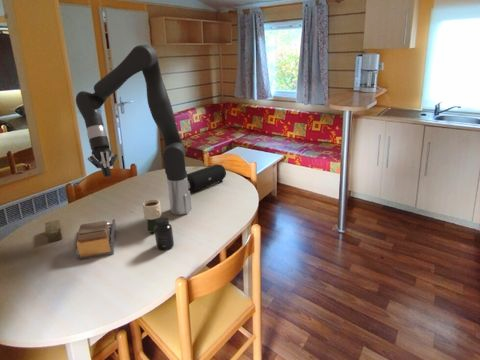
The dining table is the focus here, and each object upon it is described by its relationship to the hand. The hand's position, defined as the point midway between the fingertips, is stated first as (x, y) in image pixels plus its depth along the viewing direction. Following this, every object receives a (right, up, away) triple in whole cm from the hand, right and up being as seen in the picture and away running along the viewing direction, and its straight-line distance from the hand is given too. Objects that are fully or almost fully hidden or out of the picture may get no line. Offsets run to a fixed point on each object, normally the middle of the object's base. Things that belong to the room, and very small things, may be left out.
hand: (107, 176), depth 146 cm
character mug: (+19, -23, +4) cm, 30 cm away
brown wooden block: (-1, -26, -10) cm, 28 cm away
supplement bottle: (+26, -28, -8) cm, 39 cm away
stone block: (-23, -25, +2) cm, 34 cm away
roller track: (-2, -27, -4) cm, 27 cm away
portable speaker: (+36, -5, +48) cm, 60 cm away
